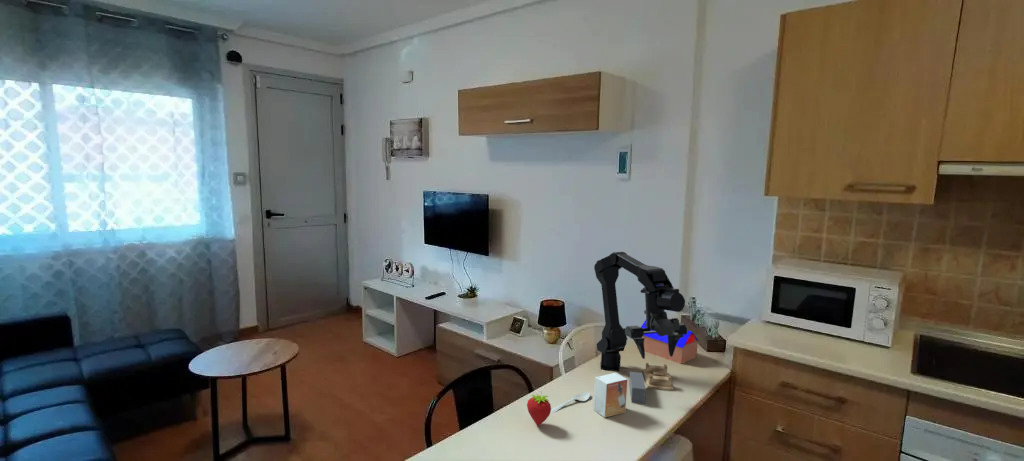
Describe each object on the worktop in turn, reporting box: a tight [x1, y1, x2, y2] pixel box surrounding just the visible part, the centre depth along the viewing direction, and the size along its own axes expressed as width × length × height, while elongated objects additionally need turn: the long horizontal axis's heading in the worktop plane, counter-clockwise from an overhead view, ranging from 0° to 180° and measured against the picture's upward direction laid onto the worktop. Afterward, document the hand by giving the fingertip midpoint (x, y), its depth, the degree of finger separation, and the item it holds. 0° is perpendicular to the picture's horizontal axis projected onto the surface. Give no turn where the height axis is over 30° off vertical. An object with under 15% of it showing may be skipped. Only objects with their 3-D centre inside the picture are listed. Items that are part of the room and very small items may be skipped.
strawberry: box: [526, 391, 552, 426], centre depth 135 cm, size 6×8×10 cm
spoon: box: [550, 391, 591, 414], centre depth 147 cm, size 4×21×2 cm, turn 129°
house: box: [636, 319, 699, 365], centre depth 190 cm, size 12×20×12 cm, turn 41°
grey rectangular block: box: [628, 371, 647, 405], centre depth 155 cm, size 4×12×5 cm, turn 170°
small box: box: [593, 372, 628, 418], centre depth 143 cm, size 8×6×10 cm
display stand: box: [643, 362, 674, 392], centre depth 165 cm, size 8×14×4 cm, turn 170°
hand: (657, 357), depth 152 cm, fingers open, 9 cm apart
